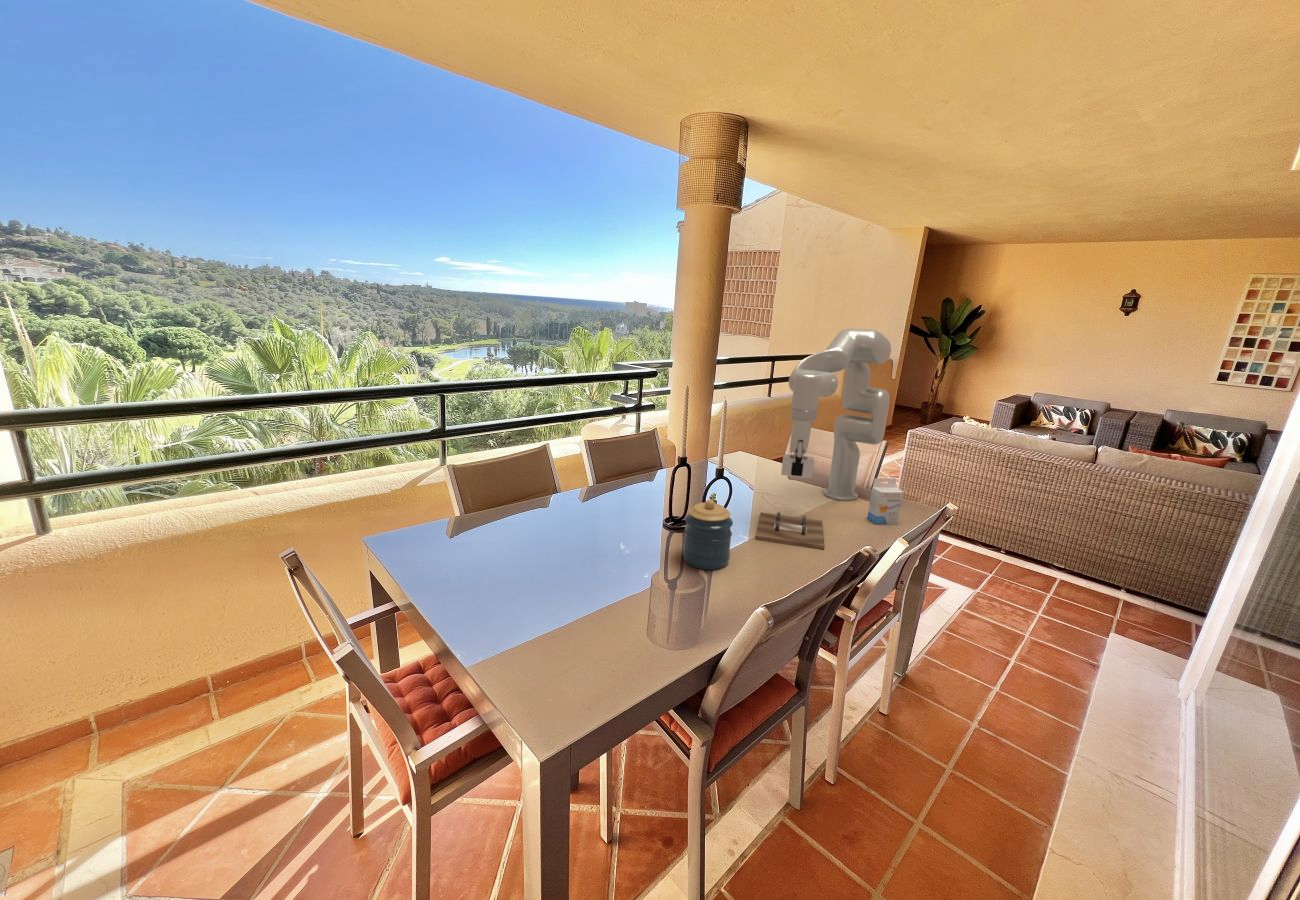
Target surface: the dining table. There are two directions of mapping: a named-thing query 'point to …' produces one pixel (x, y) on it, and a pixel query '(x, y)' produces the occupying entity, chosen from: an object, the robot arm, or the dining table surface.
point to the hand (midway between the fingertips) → (796, 472)
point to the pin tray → (790, 530)
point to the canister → (707, 536)
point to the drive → (807, 466)
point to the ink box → (885, 502)
